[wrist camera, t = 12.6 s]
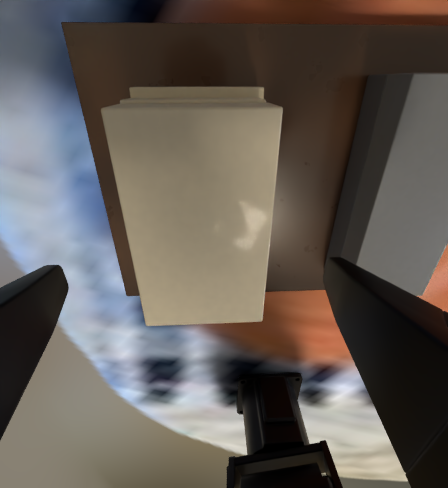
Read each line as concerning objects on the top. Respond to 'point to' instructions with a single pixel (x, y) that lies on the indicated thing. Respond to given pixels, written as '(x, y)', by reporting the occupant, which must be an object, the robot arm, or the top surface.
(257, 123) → the cream book
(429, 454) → the robot arm
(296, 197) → the walnut board
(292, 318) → the top surface
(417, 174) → the grey rectangular block
